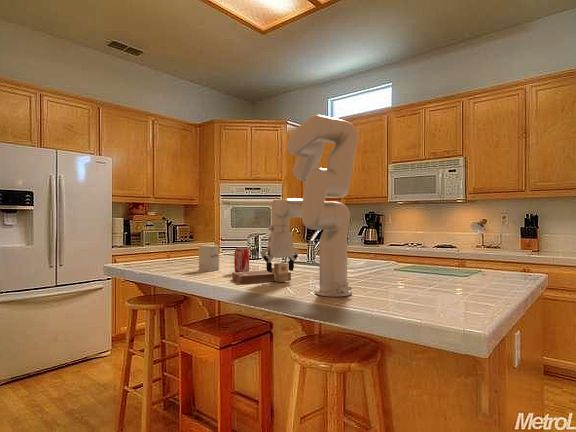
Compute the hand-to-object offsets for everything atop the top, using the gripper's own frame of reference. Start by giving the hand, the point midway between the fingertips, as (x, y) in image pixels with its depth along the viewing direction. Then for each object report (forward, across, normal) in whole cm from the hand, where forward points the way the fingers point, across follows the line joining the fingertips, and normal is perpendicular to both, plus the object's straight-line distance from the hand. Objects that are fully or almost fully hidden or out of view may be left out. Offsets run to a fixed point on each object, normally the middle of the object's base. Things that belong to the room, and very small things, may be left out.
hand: (280, 271), depth 152 cm
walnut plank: (+4, -5, +8) cm, 11 cm away
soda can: (+5, -6, +31) cm, 32 cm away
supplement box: (+6, -18, +47) cm, 51 cm away
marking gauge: (+4, 0, +3) cm, 5 cm away
